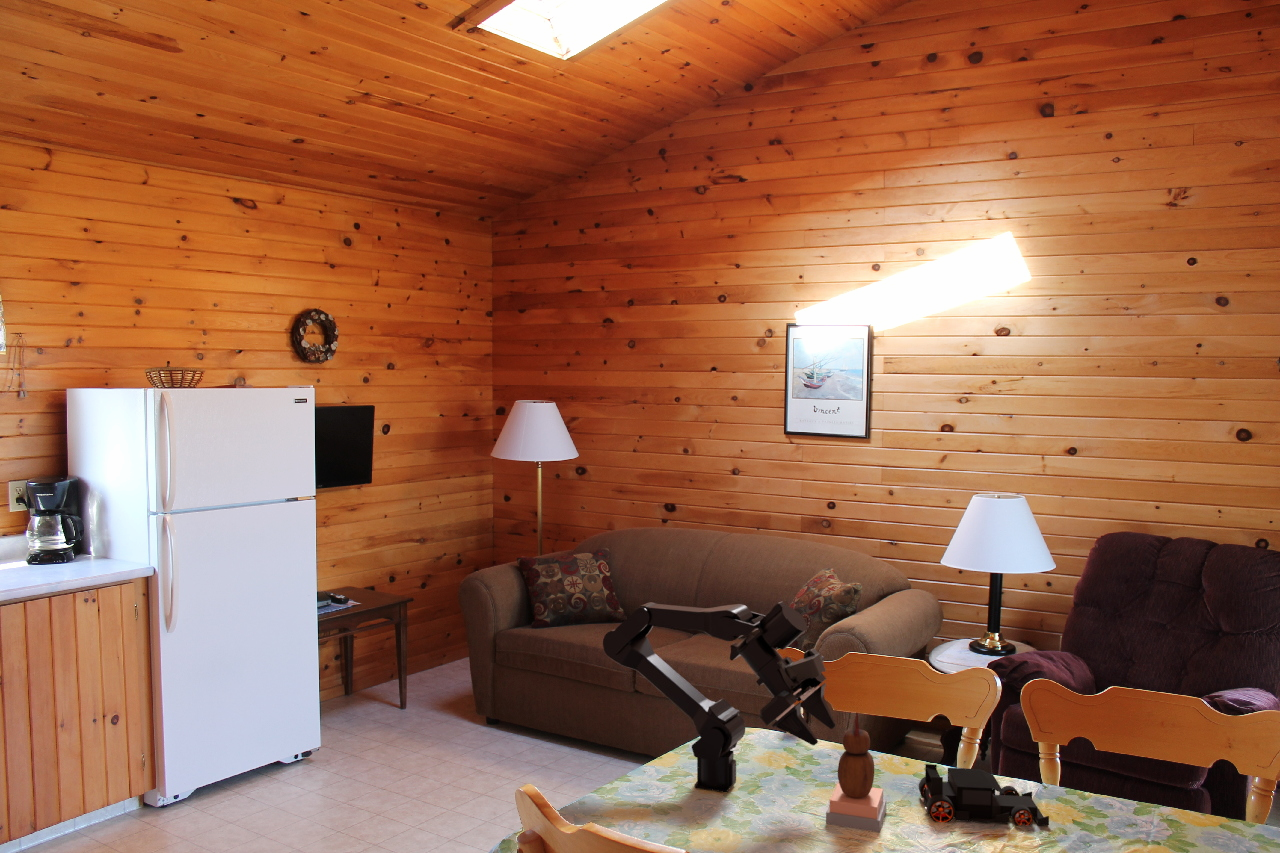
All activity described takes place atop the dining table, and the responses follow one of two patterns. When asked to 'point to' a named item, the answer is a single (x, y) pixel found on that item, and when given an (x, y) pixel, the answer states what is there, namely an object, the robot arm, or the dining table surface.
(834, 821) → the brick plinth
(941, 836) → the dining table surface
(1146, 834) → the dining table surface
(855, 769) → the wooden figurine
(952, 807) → the black toy car
